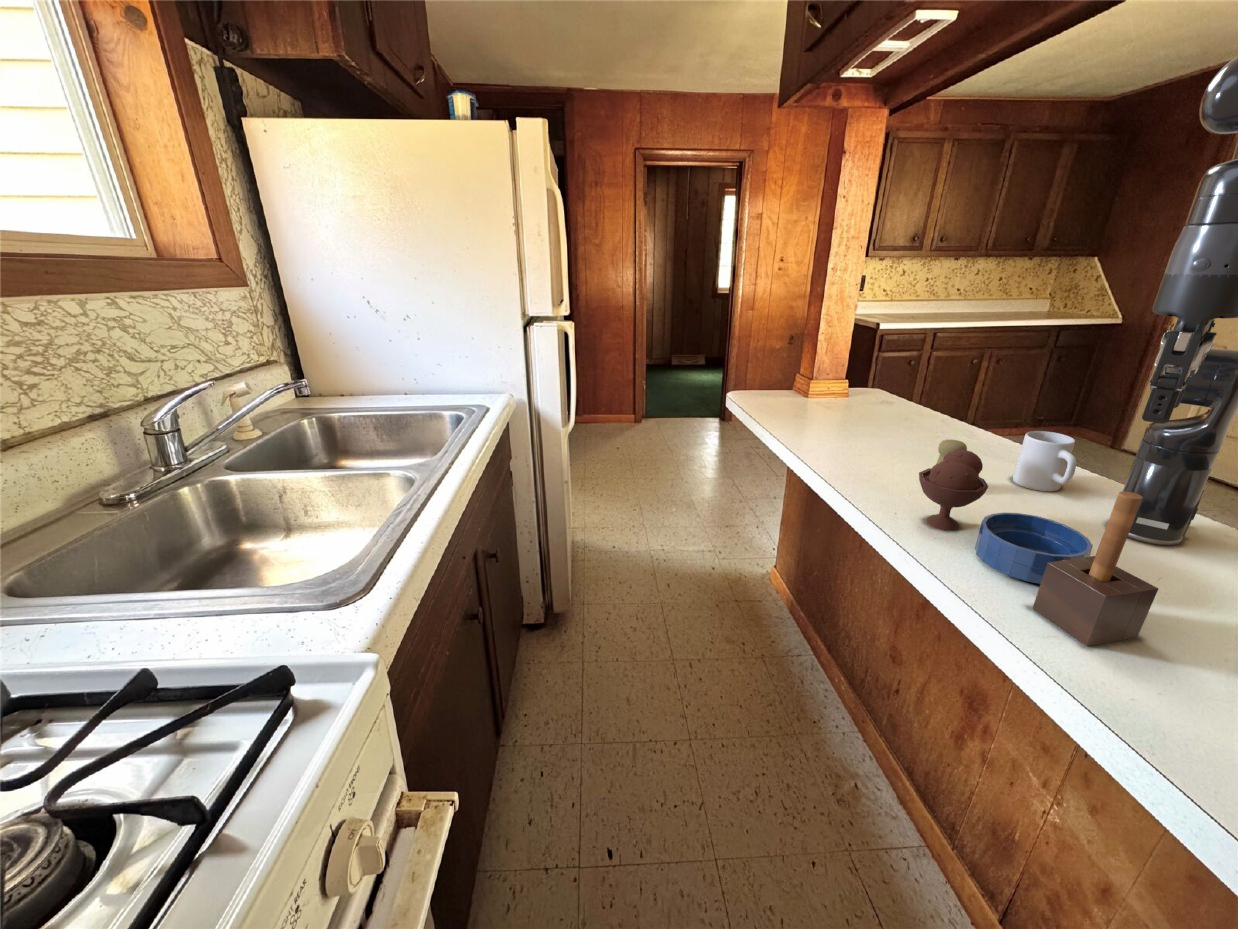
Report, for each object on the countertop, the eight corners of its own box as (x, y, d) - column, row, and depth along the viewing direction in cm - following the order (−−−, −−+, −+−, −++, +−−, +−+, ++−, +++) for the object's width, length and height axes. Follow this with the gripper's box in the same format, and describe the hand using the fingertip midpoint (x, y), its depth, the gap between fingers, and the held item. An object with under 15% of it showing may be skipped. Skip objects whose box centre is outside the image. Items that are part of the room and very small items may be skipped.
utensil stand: (1078, 601, 76) (1095, 555, 73) (1137, 637, 69) (1159, 588, 66) (1032, 608, 75) (1047, 562, 72) (1086, 646, 68) (1106, 596, 65)
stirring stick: (1080, 616, 73) (1128, 490, 66) (1096, 626, 71) (1147, 497, 64) (1067, 618, 73) (1114, 492, 65) (1083, 628, 71) (1132, 499, 63)
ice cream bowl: (915, 505, 106) (930, 437, 100) (980, 521, 99) (999, 448, 93) (903, 526, 98) (918, 454, 93) (972, 544, 92) (992, 467, 86)
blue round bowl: (1024, 538, 93) (1032, 508, 91) (1104, 583, 80) (1117, 550, 78) (954, 547, 91) (961, 517, 89) (1025, 595, 78) (1036, 561, 76)
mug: (1003, 476, 118) (1015, 431, 113) (1040, 475, 117) (1054, 430, 113) (1043, 499, 106) (1058, 450, 102) (1084, 498, 106) (1101, 449, 102)
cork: (930, 491, 112) (940, 444, 108) (925, 480, 117) (935, 435, 113) (962, 495, 110) (974, 447, 105) (956, 484, 115) (967, 438, 111)
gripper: (1266, 273, 48) (1198, 435, 54) (1271, 266, 56) (1211, 407, 63) (1155, 273, 54) (1105, 420, 60) (1174, 266, 62) (1128, 396, 68)
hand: (1160, 413), depth 61 cm, fingers open, 8 cm apart
